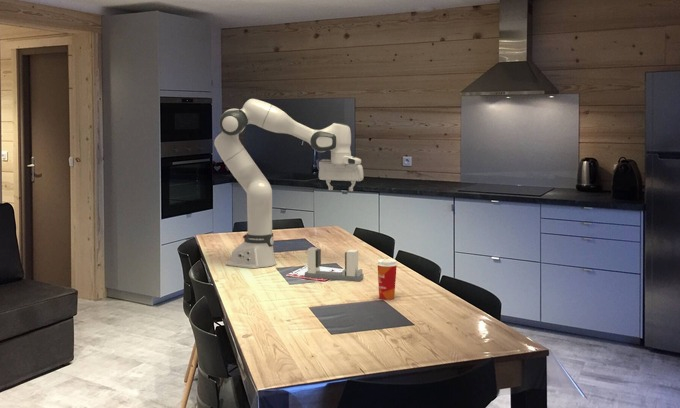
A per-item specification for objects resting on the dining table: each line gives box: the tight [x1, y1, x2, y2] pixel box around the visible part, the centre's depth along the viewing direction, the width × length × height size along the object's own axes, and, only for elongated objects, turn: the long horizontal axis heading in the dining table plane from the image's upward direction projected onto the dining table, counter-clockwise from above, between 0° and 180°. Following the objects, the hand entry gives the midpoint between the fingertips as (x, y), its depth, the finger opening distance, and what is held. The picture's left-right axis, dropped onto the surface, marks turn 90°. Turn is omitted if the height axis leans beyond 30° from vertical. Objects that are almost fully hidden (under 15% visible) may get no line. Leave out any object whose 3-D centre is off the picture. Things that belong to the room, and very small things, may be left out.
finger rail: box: [304, 246, 364, 282], centre depth 278 cm, size 24×5×12 cm, turn 73°
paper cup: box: [376, 258, 398, 301], centre depth 247 cm, size 8×8×14 cm
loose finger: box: [344, 248, 359, 276], centre depth 275 cm, size 4×5×10 cm
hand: (340, 190), depth 299 cm, fingers open, 8 cm apart
